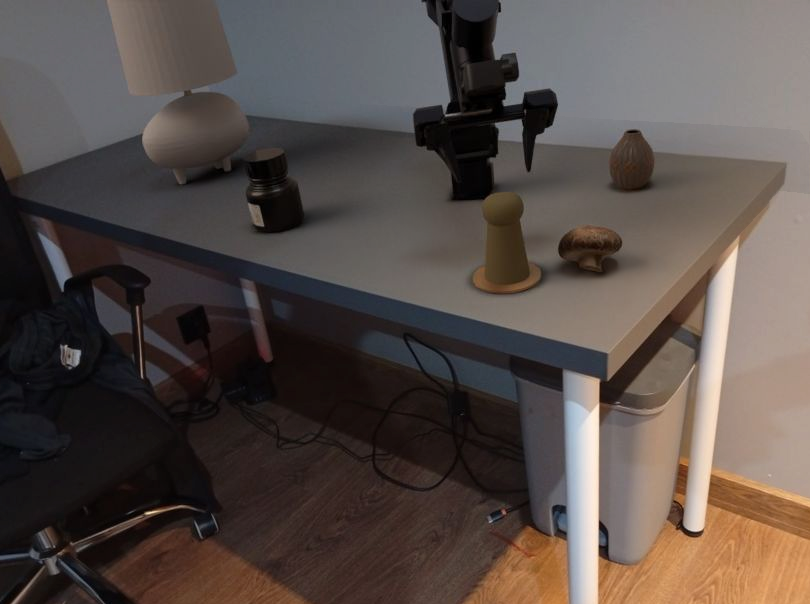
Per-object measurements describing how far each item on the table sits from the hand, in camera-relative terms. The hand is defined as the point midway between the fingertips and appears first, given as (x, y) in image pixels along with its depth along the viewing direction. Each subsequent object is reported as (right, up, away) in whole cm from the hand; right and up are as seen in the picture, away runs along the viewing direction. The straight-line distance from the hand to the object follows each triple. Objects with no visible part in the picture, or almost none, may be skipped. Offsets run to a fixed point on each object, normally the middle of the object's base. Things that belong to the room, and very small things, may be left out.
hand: (494, 176), depth 96 cm
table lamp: (-54, +15, +61) cm, 83 cm away
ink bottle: (-33, -1, +30) cm, 45 cm away
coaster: (+2, -13, +2) cm, 13 cm away
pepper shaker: (+2, -13, +2) cm, 13 cm away
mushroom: (+13, -12, +1) cm, 17 cm away
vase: (+25, +4, +24) cm, 35 cm away
